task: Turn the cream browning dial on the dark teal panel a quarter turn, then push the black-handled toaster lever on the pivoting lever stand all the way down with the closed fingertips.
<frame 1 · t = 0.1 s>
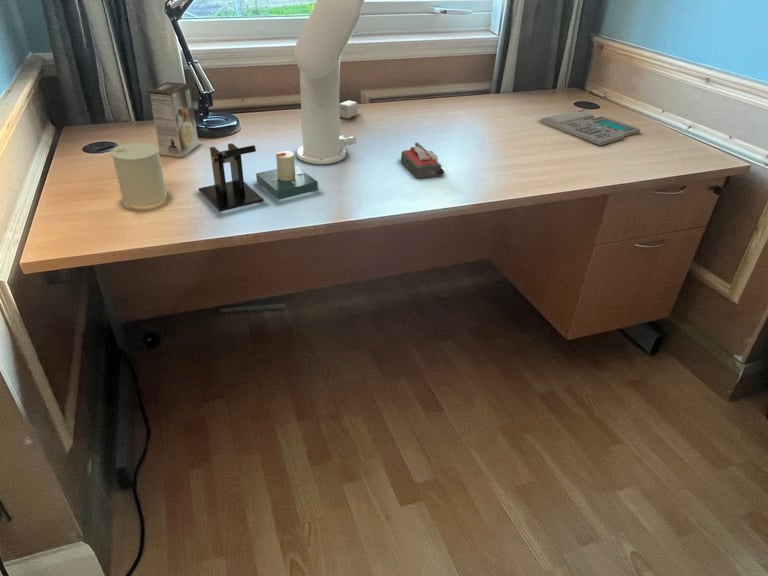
walkie-talkie: (418, 164, 150), on the table
pivoting lever stand: (231, 199, 129), on the table
dial panel: (287, 189, 134), on the table
office telephone: (590, 128, 178), on the table
dial: (285, 165, 131), point 6 cm above the table, hinge at 0.0°
coffee box: (180, 150, 151), on the table
can: (146, 202, 127), on the table
toaster lever: (232, 154, 119), point 12 cm above the table, hinge at 26.0°
usb wall charger: (350, 115, 179), on the table
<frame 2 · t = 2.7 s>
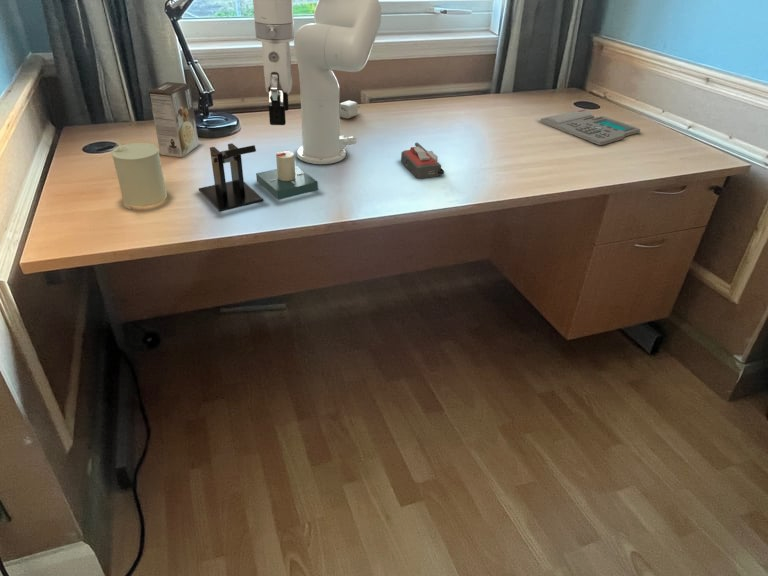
hand: (279, 117, 125), 17 cm above the table, tool pointing down, fingers open, 9 cm apart
nothing on the table moved.
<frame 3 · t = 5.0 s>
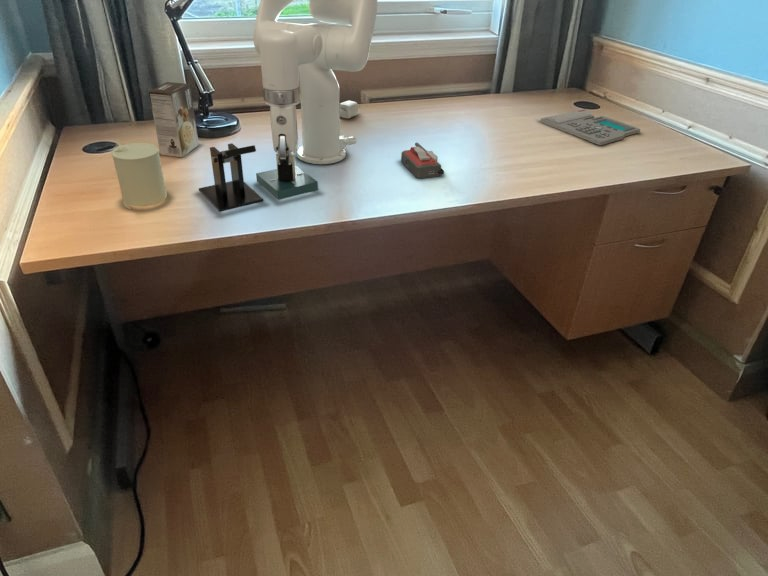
hand: (286, 175, 132), 4 cm above the table, tool pointing down, fingers closed on dial, 4 cm apart
dial: (285, 165, 131), point 6 cm above the table, hinge at 0.1°, touching gripper
everything else where it was.
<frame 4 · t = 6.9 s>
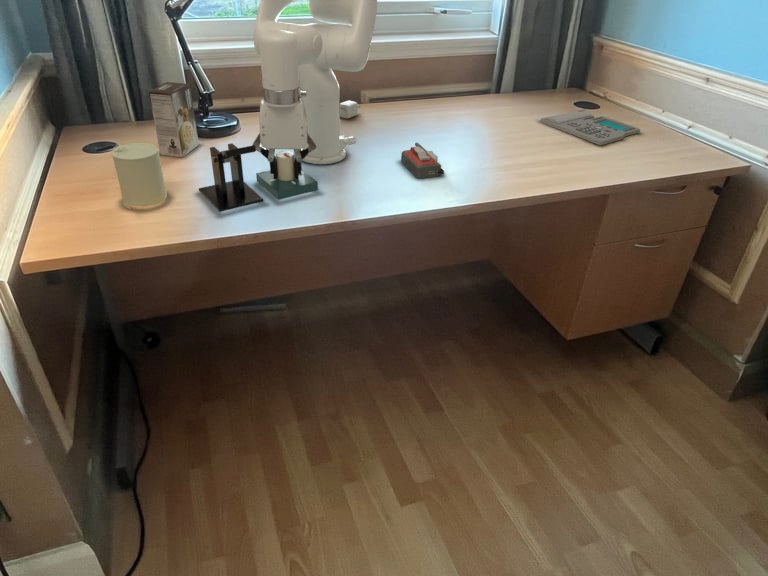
hand: (286, 175, 132), 3 cm above the table, tool pointing down, fingers open, 4 cm apart
dial: (285, 165, 131), point 6 cm above the table, hinge at 88.2°
everything else where it was.
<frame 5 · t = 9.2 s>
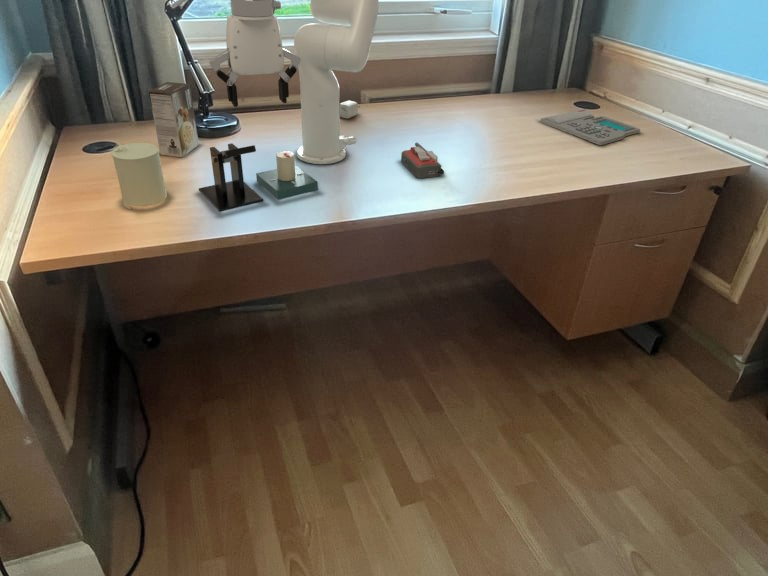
hand: (259, 103, 116), 22 cm above the table, tool pointing down, fingers open, 9 cm apart
dial: (285, 165, 131), point 6 cm above the table, hinge at 87.7°
everything else where it was.
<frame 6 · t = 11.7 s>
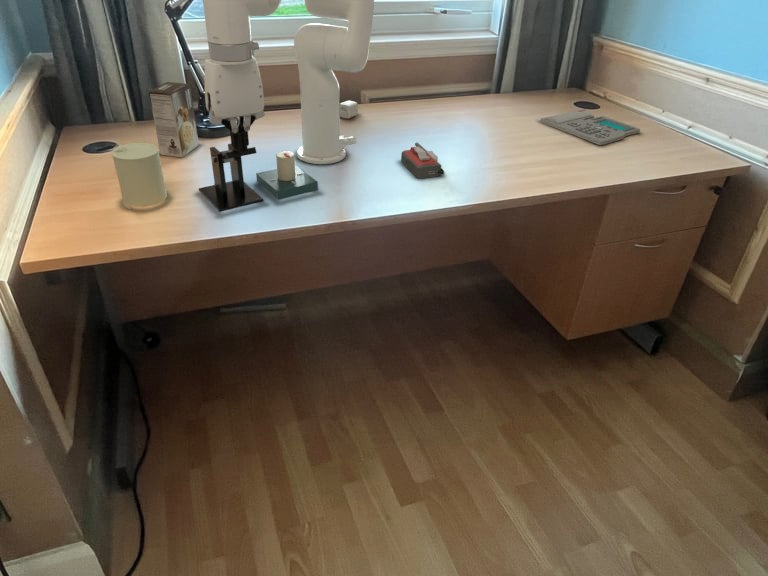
hand: (240, 150, 114), 15 cm above the table, tool pointing down, fingers closed
toaster lever: (232, 155, 119), point 12 cm above the table, hinge at 23.9°, touching gripper
everything else where it was.
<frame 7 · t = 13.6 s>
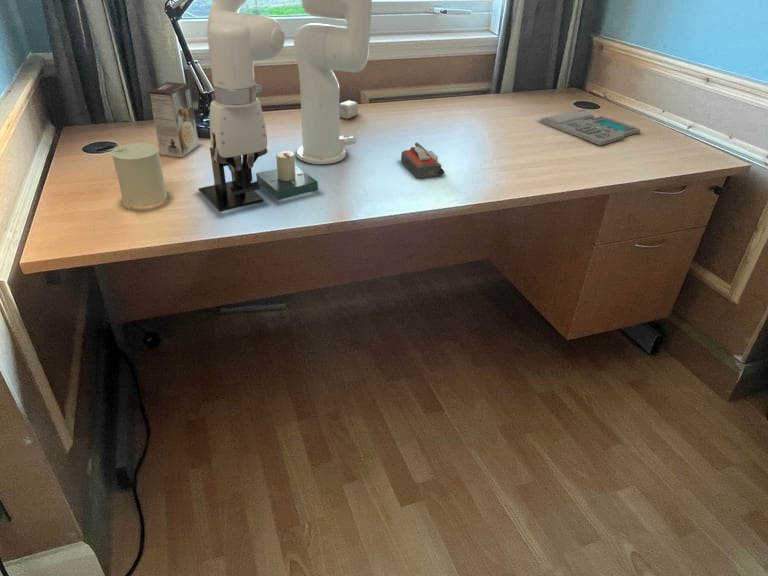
hand: (244, 185, 118), 7 cm above the table, tool pointing down, fingers closed
toaster lever: (234, 171, 121), point 8 cm above the table, hinge at -23.4°, touching gripper
everything else where it was.
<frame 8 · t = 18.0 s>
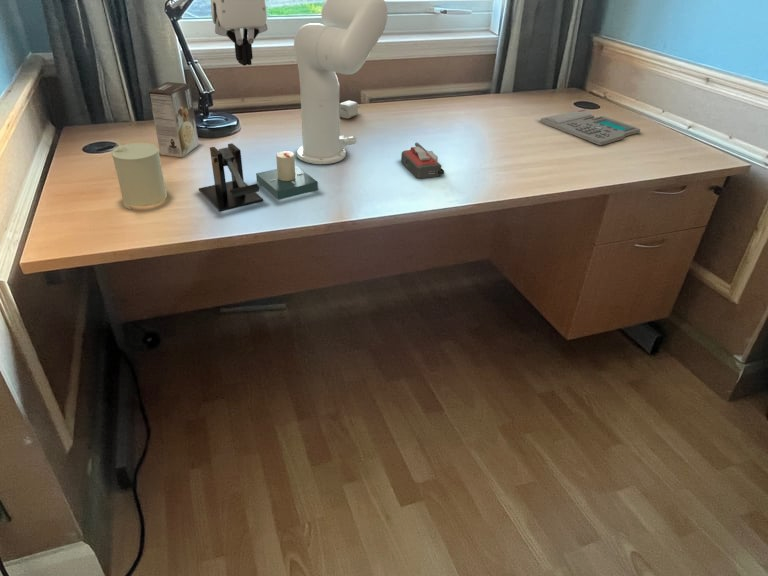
hand: (244, 63, 120), 27 cm above the table, tool pointing down, fingers closed
toaster lever: (234, 172, 122), point 8 cm above the table, hinge at -27.2°
everything else where it was.
at the end: dial at +88° (first picture: +0°); toaster lever at -27° (first picture: +26°) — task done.
